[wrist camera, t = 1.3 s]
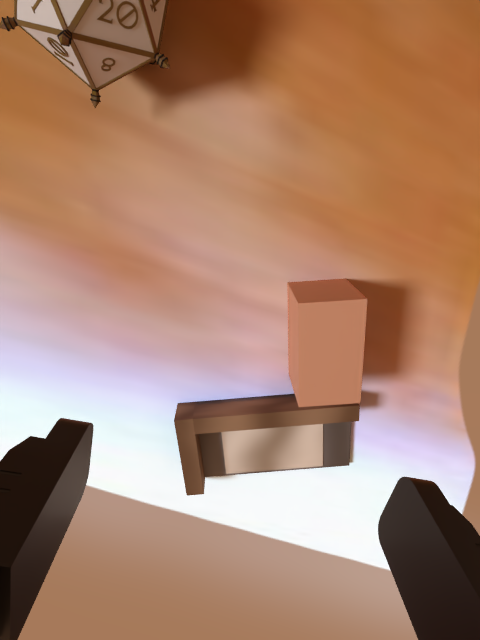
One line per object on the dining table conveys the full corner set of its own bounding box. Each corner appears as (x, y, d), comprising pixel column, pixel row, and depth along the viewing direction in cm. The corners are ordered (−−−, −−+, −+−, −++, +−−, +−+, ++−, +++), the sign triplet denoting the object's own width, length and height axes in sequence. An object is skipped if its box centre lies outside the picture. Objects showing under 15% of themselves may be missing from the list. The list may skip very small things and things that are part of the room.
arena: (350, 389, 33) (359, 405, 31) (348, 462, 36) (355, 481, 34) (177, 403, 33) (174, 420, 31) (189, 475, 36) (186, 495, 34)
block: (345, 278, 29) (367, 298, 25) (341, 369, 32) (360, 402, 28) (287, 281, 29) (298, 303, 25) (288, 372, 32) (298, 407, 28)
